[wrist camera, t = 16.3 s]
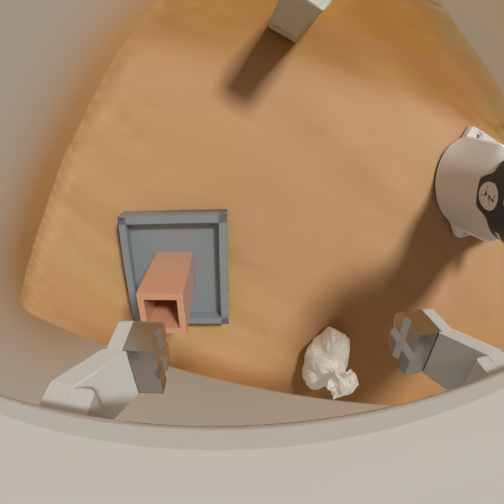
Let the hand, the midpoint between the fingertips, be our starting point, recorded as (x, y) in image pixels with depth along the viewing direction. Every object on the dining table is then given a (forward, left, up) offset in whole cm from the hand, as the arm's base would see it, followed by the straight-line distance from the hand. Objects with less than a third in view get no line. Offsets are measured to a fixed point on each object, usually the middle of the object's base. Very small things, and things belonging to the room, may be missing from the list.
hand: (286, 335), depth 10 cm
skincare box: (-6, -22, -31) cm, 39 cm away
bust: (-14, +28, -31) cm, 44 cm away
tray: (+9, +12, -31) cm, 35 cm away
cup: (+9, +12, -30) cm, 34 cm away
